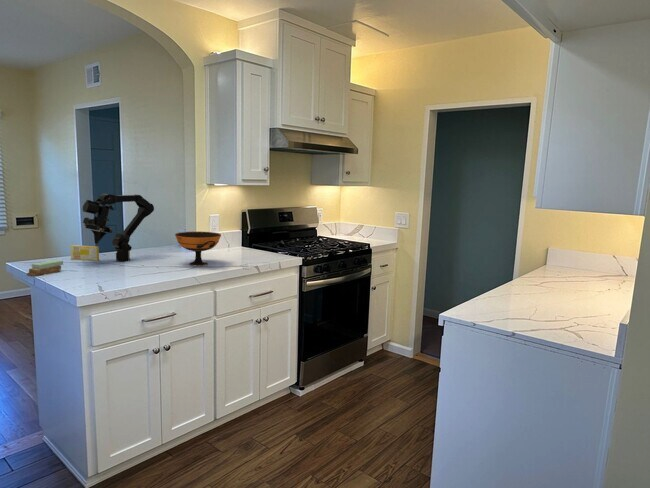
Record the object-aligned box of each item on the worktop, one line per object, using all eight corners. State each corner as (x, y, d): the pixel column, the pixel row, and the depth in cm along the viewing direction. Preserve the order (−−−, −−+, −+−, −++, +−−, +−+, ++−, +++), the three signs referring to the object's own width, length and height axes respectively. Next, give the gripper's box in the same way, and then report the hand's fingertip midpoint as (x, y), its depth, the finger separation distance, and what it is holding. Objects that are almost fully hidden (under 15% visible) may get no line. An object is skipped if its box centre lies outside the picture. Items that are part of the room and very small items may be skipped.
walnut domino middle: (54, 264, 231) (28, 268, 219) (61, 265, 229) (35, 270, 217) (54, 268, 231) (29, 272, 219) (61, 269, 229) (36, 274, 217)
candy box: (99, 260, 261) (99, 246, 260) (97, 261, 259) (96, 247, 257) (73, 258, 262) (72, 244, 261) (70, 259, 260) (70, 245, 259)
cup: (165, 260, 268) (165, 231, 266) (206, 257, 284) (206, 229, 281) (188, 272, 240) (188, 239, 238) (232, 268, 256) (232, 237, 253)
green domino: (55, 259, 232) (31, 264, 220) (63, 260, 230) (39, 265, 218) (56, 263, 232) (32, 268, 220) (63, 264, 231) (39, 269, 219)
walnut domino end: (53, 268, 230) (27, 272, 219) (59, 269, 228) (33, 274, 217) (53, 272, 230) (27, 276, 219) (59, 273, 228) (33, 278, 217)
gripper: (97, 215, 260) (90, 242, 259) (79, 210, 241) (72, 239, 240) (115, 219, 260) (109, 245, 259) (99, 214, 241) (92, 243, 240)
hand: (96, 243), depth 249 cm, fingers closed
